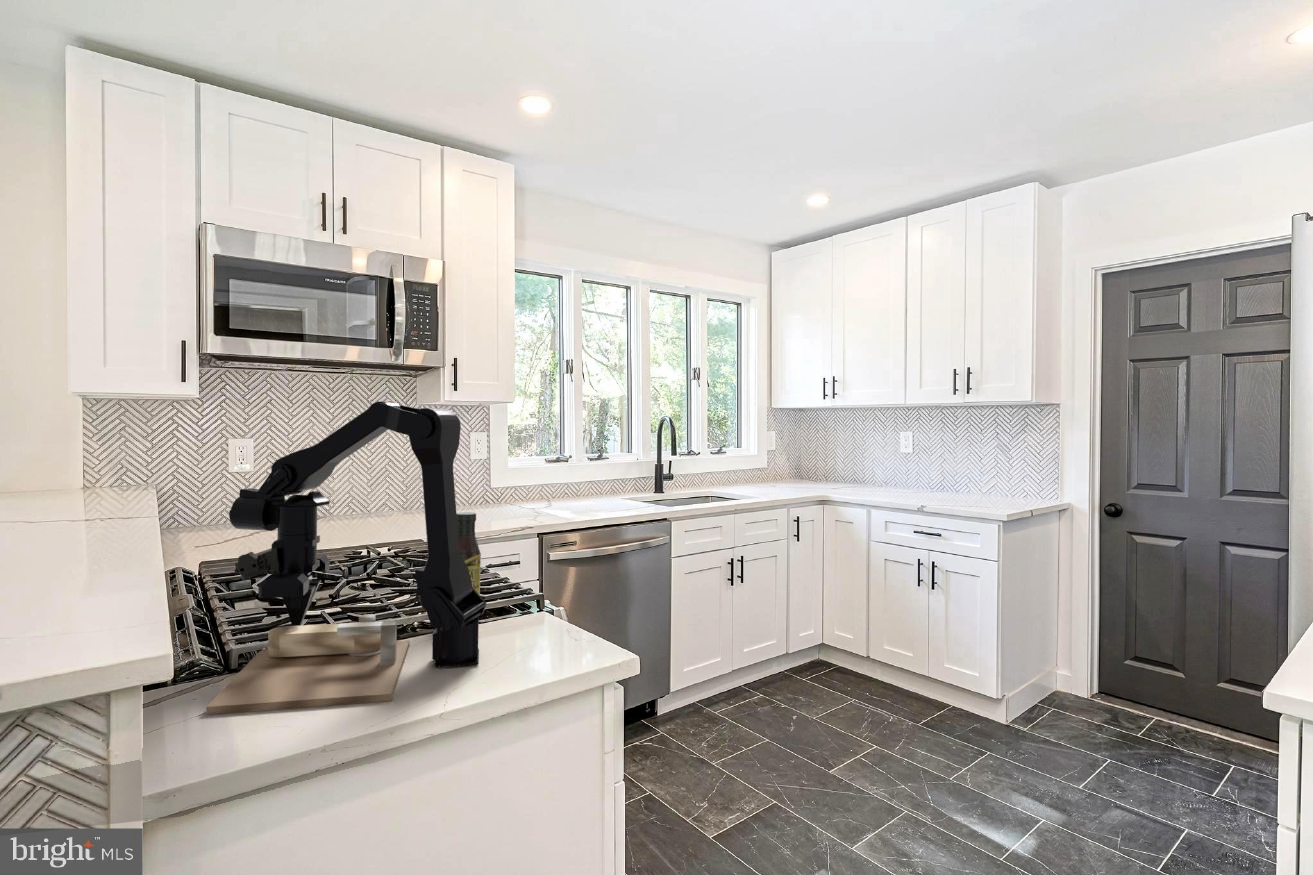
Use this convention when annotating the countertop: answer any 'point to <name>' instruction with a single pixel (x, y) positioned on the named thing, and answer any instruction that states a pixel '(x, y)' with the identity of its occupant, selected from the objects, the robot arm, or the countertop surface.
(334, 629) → the oak link
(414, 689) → the countertop surface
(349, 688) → the base
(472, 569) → the sauce bottle
